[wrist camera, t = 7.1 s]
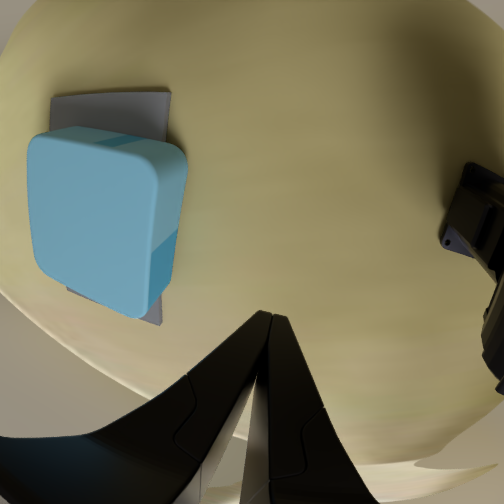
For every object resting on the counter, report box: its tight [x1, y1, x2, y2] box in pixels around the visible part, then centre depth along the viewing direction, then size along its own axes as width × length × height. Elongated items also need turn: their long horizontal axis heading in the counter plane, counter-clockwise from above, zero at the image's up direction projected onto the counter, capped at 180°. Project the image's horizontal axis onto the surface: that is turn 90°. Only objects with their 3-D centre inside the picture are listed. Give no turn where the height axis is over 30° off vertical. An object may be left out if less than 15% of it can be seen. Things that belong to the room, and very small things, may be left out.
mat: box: [50, 92, 171, 326], centre depth 22 cm, size 12×20×1 cm, turn 171°
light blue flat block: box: [27, 126, 188, 318], centre depth 19 cm, size 12×4×12 cm
